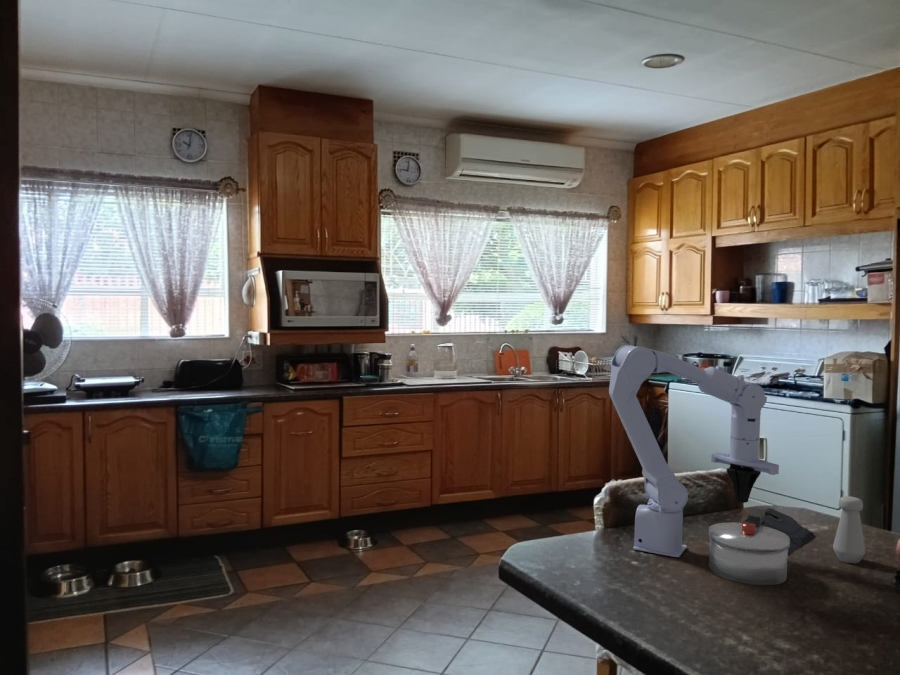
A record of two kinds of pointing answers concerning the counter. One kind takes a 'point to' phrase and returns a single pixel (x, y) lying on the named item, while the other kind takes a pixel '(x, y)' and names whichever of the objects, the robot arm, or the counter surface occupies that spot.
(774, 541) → the lid
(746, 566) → the pot
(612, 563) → the counter surface
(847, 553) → the salt shaker
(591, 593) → the counter surface
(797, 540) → the dark slate chunk
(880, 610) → the counter surface
